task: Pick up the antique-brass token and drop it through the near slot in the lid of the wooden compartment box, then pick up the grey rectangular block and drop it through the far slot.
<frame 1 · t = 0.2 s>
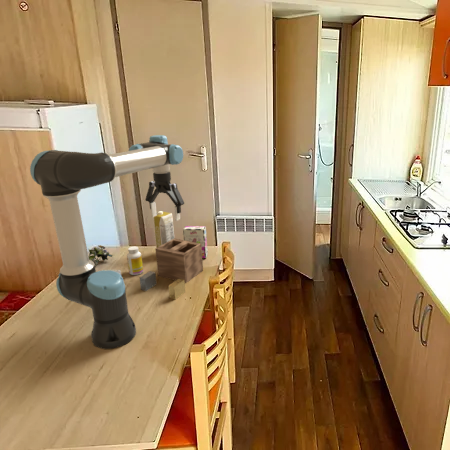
hand: (165, 218, 168), 27 cm above the table, tool pointing down, fingers open, 13 cm apart
candy bar box: (196, 257, 193), on the table
supplement bottle: (136, 272, 178), on the table
wooden compartment box: (180, 273, 176), on the table
medicine box: (113, 289, 164), on the table
juice carton: (166, 255, 197), on the table
grey rectangular block: (148, 286, 165), on the table
brass token: (177, 295, 157), on the table
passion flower: (98, 264, 190), on the table
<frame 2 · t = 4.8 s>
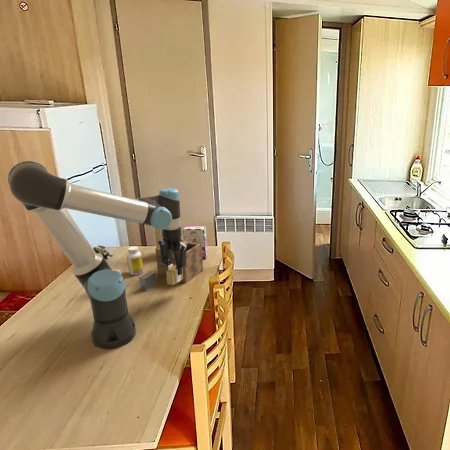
hand: (174, 280, 154), 7 cm above the table, tool pointing down, fingers closed on brass token, 3 cm apart
brass token: (175, 281, 154), point 7 cm above the table, touching gripper
everything else where it was.
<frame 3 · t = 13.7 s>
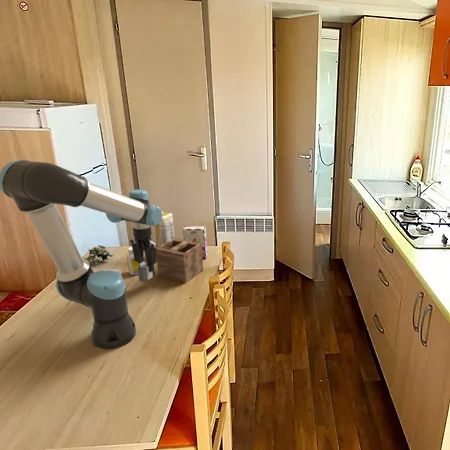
hand: (146, 277, 162), 5 cm above the table, tool pointing down, fingers closed on grey rectangular block, 3 cm apart
grey rectangular block: (147, 277, 163), point 5 cm above the table, touching gripper
brass token: (188, 273, 173), point 1 cm above the table, touching wooden compartment box
everything else where it was.
when the fingers open (16 cm above the table, at t = 16.6 s): grey rectangular block drops 14 cm, resting on wooden compartment box.
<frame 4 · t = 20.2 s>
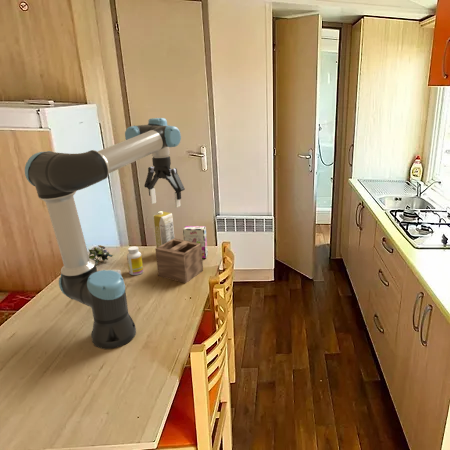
hand: (165, 205, 162), 35 cm above the table, tool pointing down, fingers open, 13 cm apart
grey rectangular block: (174, 269, 178), point 1 cm above the table, touching wooden compartment box
everything else where it was.
at the end: brass token inside the target area on the wooden compartment box (1.2 cm from its centre), point 1.0 cm above the wooden compartment box's base; grey rectangular block inside the target area on the wooden compartment box (1.0 cm from its centre), point 1.0 cm above the wooden compartment box's base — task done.
